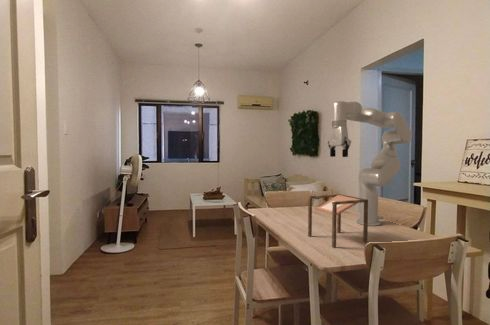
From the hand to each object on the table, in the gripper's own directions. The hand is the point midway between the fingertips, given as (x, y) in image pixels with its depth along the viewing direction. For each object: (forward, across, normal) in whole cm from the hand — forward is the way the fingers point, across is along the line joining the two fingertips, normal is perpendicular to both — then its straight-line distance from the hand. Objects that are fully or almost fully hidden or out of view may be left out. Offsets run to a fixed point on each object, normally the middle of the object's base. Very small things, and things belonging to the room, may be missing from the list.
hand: (338, 156), depth 159 cm
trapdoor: (+22, +18, -15) cm, 32 cm away
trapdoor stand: (+38, +18, -16) cm, 45 cm away
